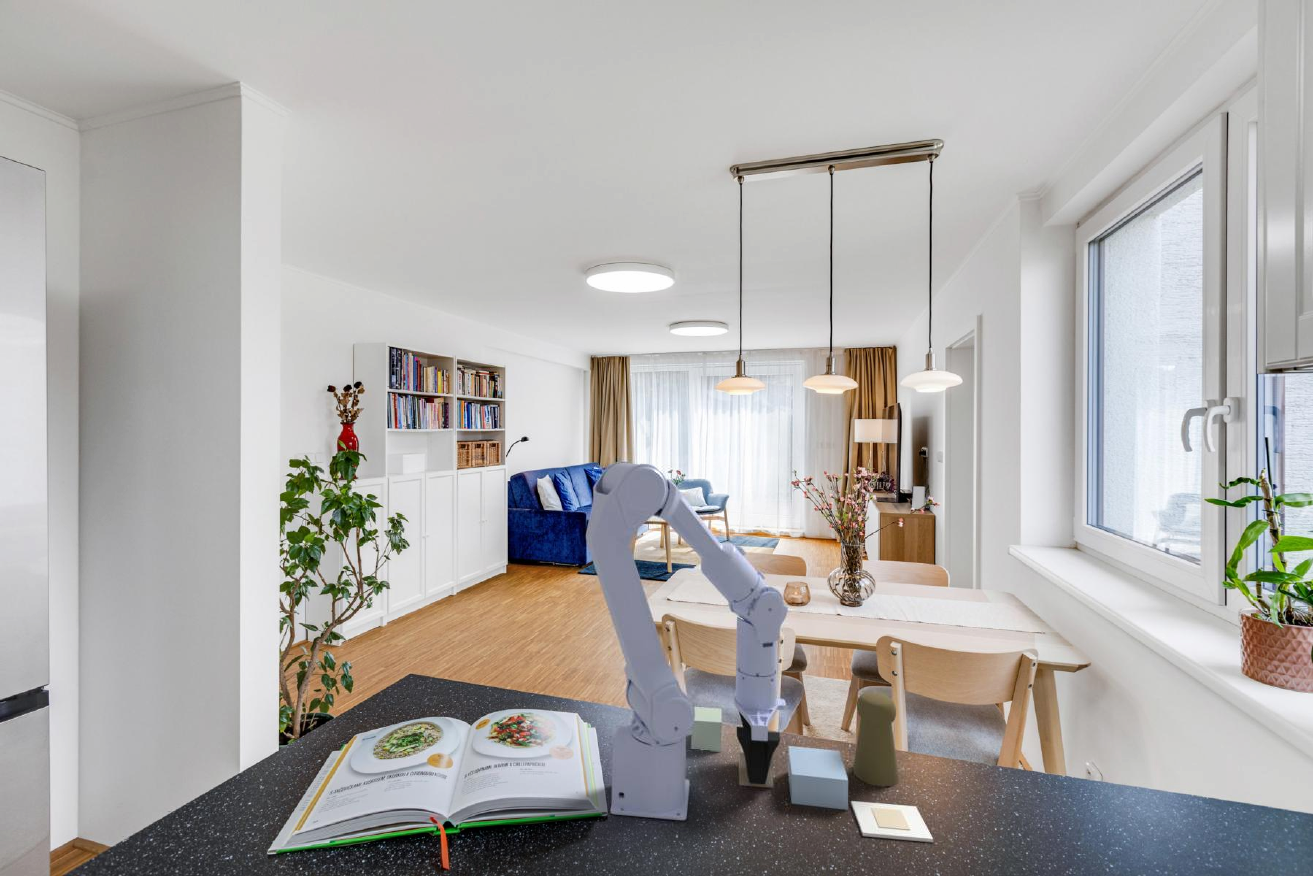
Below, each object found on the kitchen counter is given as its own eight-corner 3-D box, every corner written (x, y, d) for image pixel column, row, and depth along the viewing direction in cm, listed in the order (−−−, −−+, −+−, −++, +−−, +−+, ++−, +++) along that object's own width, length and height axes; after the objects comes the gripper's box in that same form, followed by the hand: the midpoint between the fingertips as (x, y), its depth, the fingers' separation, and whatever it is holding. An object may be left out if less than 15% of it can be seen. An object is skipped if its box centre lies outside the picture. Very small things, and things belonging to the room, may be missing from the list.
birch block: (739, 785, 77) (740, 752, 77) (738, 766, 82) (738, 735, 82) (773, 788, 77) (773, 754, 77) (770, 769, 81) (770, 737, 81)
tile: (862, 835, 67) (862, 831, 67) (851, 804, 73) (851, 800, 73) (933, 842, 66) (933, 838, 66) (915, 809, 72) (915, 805, 72)
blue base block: (791, 805, 73) (791, 774, 73) (788, 774, 80) (788, 745, 80) (847, 811, 72) (848, 780, 72) (839, 779, 79) (839, 750, 79)
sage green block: (691, 750, 86) (691, 720, 86) (692, 735, 90) (693, 706, 90) (721, 752, 85) (721, 722, 85) (721, 737, 90) (721, 708, 90)
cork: (903, 789, 77) (904, 708, 77) (856, 783, 78) (857, 703, 78) (893, 764, 83) (894, 689, 83) (850, 759, 84) (851, 685, 84)
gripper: (792, 693, 72) (790, 801, 72) (780, 651, 86) (779, 741, 86) (736, 689, 72) (734, 796, 72) (733, 648, 87) (732, 737, 87)
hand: (755, 766), depth 79 cm, fingers open, 7 cm apart
